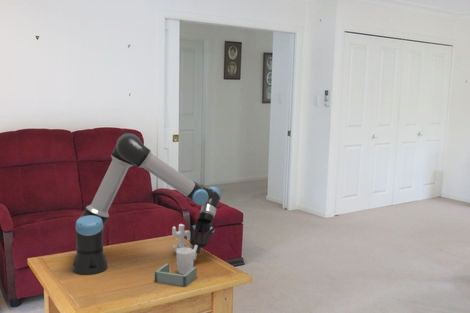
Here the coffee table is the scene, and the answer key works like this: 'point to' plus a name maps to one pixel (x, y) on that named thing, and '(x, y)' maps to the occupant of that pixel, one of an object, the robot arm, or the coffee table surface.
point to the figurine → (180, 237)
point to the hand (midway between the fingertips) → (193, 258)
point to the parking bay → (174, 276)
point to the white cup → (185, 260)
